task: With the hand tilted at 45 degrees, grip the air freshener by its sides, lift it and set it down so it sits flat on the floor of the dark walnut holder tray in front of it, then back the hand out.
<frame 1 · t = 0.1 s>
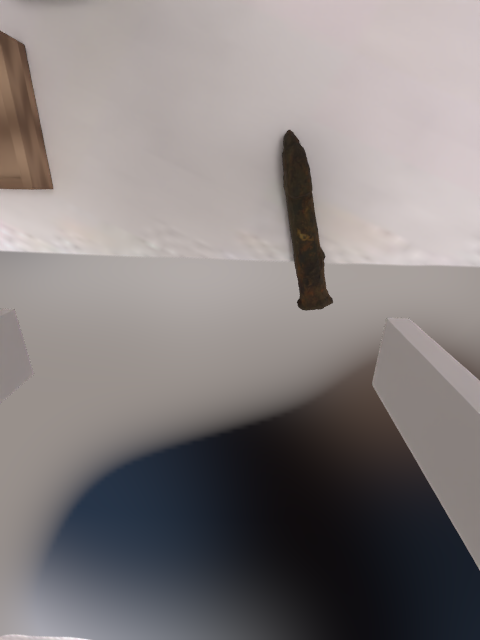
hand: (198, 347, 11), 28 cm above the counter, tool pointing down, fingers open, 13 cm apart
hand tool: (296, 226, 37), on the counter
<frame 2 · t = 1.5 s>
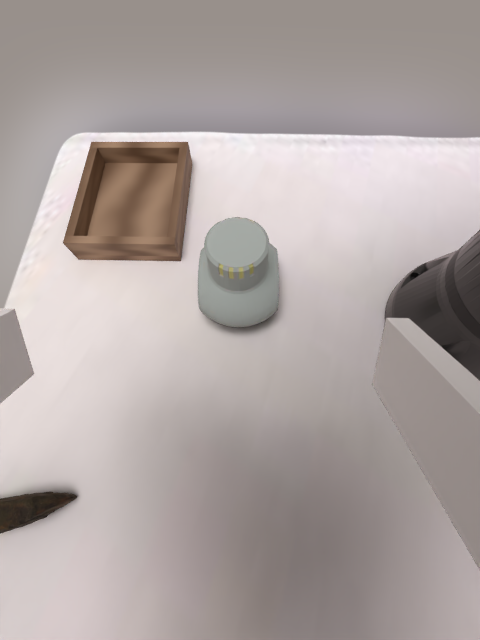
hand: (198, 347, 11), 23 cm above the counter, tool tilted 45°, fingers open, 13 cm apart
tray: (138, 208, 42), on the counter
air freshener: (239, 292, 38), on the counter
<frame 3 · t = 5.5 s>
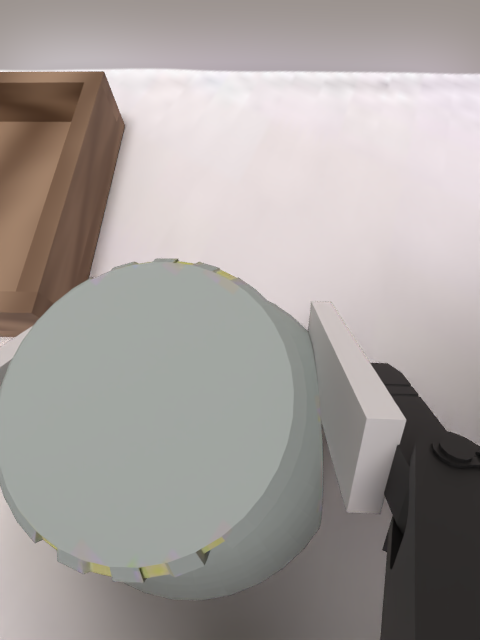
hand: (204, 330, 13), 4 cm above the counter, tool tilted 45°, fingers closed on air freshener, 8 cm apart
tray: (1, 214, 20), on the counter
air freshener: (210, 422, 15), on the counter, touching gripper
when the fingers open (6 cm above the counter, at t = 11.5 s): air freshener stays where it is, resting on tray.
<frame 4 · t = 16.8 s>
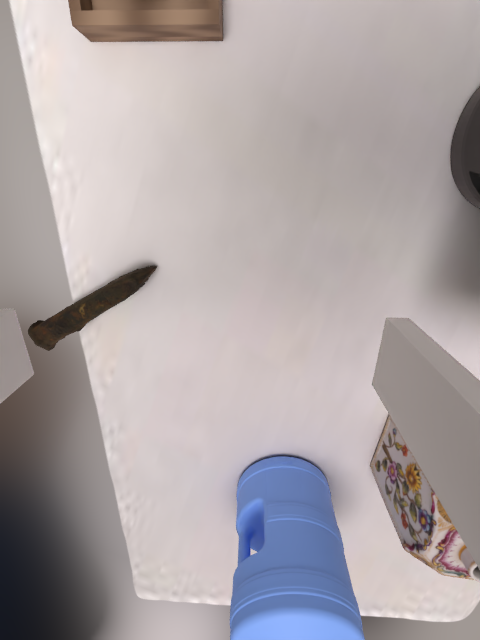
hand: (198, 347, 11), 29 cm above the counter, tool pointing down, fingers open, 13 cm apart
decorative jar: (413, 442, 50), on the counter
water jug: (282, 485, 55), on the counter
hand tool: (98, 296, 42), on the counter
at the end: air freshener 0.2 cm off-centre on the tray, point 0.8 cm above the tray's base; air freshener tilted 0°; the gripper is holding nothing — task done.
